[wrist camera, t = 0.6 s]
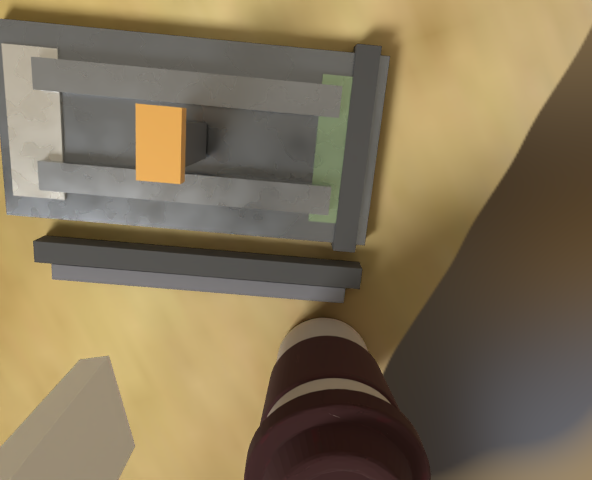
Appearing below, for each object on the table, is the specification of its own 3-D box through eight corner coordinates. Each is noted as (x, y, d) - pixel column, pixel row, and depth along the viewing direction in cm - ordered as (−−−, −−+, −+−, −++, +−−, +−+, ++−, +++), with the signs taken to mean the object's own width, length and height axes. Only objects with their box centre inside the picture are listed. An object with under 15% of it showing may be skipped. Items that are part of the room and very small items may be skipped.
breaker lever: (170, 167, 31) (135, 180, 24) (171, 107, 30) (135, 103, 23) (205, 170, 31) (180, 184, 24) (207, 110, 30) (181, 107, 23)
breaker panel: (16, 211, 33) (-3, 217, 31) (2, 21, 30) (-21, 14, 28) (362, 240, 34) (366, 249, 32) (386, 58, 30) (393, 54, 28)
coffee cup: (254, 305, 35) (227, 436, 21) (379, 294, 35) (439, 417, 20) (269, 413, 38) (253, 595, 23) (385, 402, 37) (442, 580, 23)
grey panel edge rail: (331, 244, 34) (333, 250, 32) (354, 47, 30) (357, 43, 29) (352, 246, 34) (355, 252, 32) (377, 50, 30) (381, 46, 29)
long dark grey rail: (47, 272, 34) (35, 280, 33) (45, 235, 34) (33, 241, 32) (354, 298, 35) (357, 306, 33) (359, 262, 34) (362, 268, 33)
